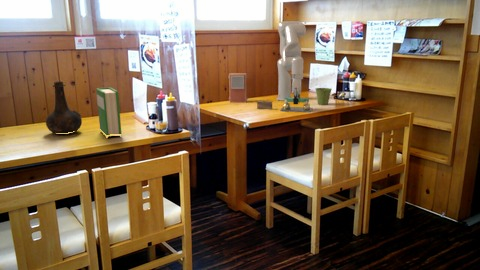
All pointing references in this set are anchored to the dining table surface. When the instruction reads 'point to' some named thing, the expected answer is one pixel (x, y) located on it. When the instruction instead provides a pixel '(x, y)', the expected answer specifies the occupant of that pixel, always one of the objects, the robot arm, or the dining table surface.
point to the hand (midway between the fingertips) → (296, 103)
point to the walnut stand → (264, 105)
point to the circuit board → (298, 99)
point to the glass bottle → (62, 114)
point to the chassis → (296, 108)
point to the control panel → (238, 87)
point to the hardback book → (108, 110)
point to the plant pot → (323, 95)
